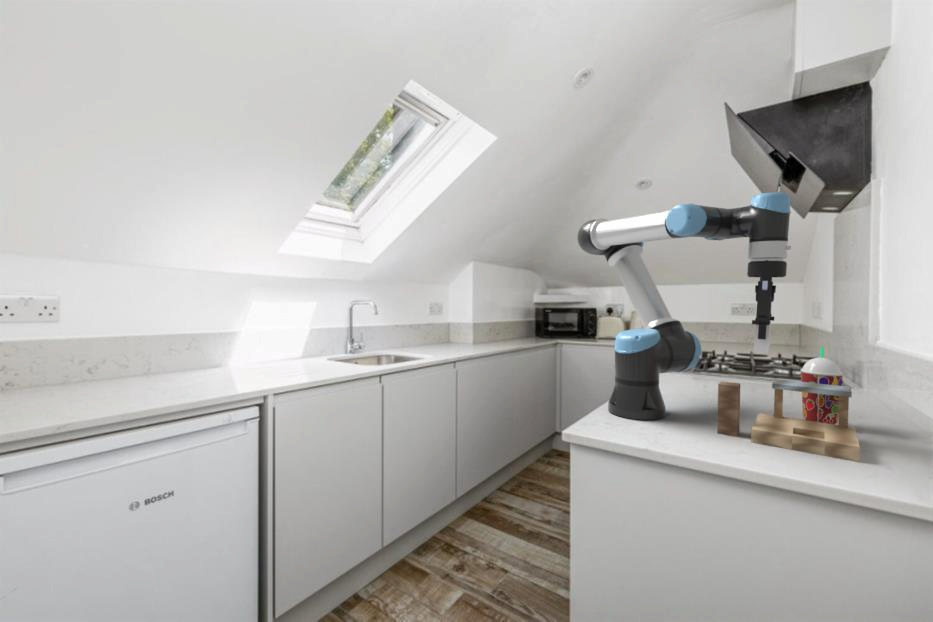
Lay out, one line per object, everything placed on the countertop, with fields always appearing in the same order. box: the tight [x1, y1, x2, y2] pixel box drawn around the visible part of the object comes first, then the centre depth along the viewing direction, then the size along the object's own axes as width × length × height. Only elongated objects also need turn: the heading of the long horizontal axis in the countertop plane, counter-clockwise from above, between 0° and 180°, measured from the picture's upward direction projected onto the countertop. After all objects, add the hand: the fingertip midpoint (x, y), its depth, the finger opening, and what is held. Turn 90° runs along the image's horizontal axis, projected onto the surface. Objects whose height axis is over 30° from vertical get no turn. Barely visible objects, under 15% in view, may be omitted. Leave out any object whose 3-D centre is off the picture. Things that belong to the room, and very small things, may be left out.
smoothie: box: [800, 346, 844, 425], centre depth 108 cm, size 8×8×20 cm
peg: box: [716, 380, 741, 438], centre depth 102 cm, size 4×4×12 cm
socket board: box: [750, 378, 861, 463], centre depth 96 cm, size 18×16×12 cm
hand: (762, 349), depth 101 cm, fingers open, 13 cm apart
